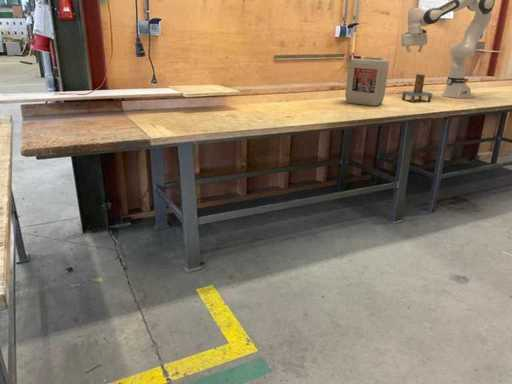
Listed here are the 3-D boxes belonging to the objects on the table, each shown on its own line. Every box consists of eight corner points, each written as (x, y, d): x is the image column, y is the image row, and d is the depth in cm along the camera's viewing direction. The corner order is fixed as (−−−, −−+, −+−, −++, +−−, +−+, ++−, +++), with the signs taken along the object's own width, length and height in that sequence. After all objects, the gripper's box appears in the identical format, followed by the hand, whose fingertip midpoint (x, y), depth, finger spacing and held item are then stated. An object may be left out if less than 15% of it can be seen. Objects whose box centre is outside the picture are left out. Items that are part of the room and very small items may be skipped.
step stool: (420, 99, 304) (421, 90, 302) (431, 102, 294) (432, 93, 291) (401, 99, 299) (402, 91, 297) (412, 102, 289) (413, 93, 287)
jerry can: (342, 103, 279) (347, 56, 267) (350, 99, 294) (355, 54, 283) (378, 107, 269) (385, 58, 257) (384, 103, 284) (391, 57, 273)
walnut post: (418, 91, 297) (421, 74, 292) (421, 92, 293) (425, 75, 289) (413, 91, 295) (416, 74, 291) (417, 92, 292) (420, 75, 287)
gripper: (405, 31, 292) (405, 52, 295) (428, 30, 298) (428, 50, 301) (399, 33, 298) (399, 53, 301) (422, 32, 304) (422, 52, 307)
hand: (414, 52), depth 301 cm, fingers open, 8 cm apart
